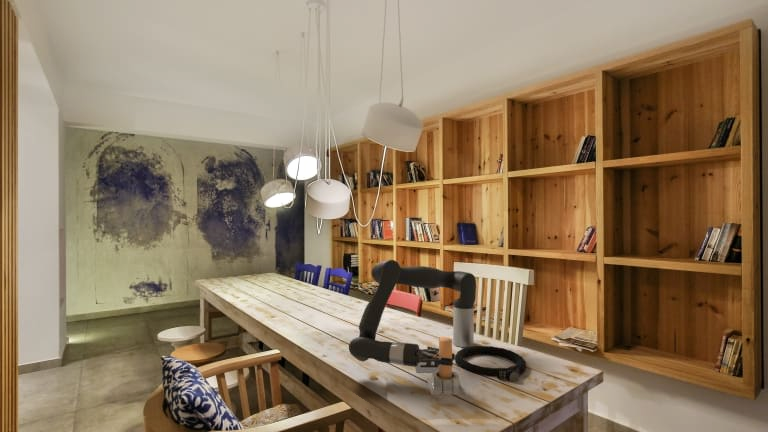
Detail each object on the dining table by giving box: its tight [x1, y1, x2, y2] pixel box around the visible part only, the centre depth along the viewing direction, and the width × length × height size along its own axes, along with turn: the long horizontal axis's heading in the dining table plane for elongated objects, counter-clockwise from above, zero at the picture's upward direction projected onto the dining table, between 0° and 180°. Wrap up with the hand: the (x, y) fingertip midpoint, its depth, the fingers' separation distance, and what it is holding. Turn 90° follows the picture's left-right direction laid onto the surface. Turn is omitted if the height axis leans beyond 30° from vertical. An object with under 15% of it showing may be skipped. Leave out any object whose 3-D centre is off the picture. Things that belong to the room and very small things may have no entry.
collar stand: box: [426, 370, 466, 396], centre depth 127 cm, size 11×11×5 cm
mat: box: [414, 363, 439, 374], centre depth 144 cm, size 11×11×1 cm
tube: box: [438, 337, 453, 379], centre depth 127 cm, size 4×4×16 cm
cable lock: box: [454, 345, 527, 383], centre depth 148 cm, size 28×4×30 cm
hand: (453, 359), depth 126 cm, fingers closed on tube, 4 cm apart
